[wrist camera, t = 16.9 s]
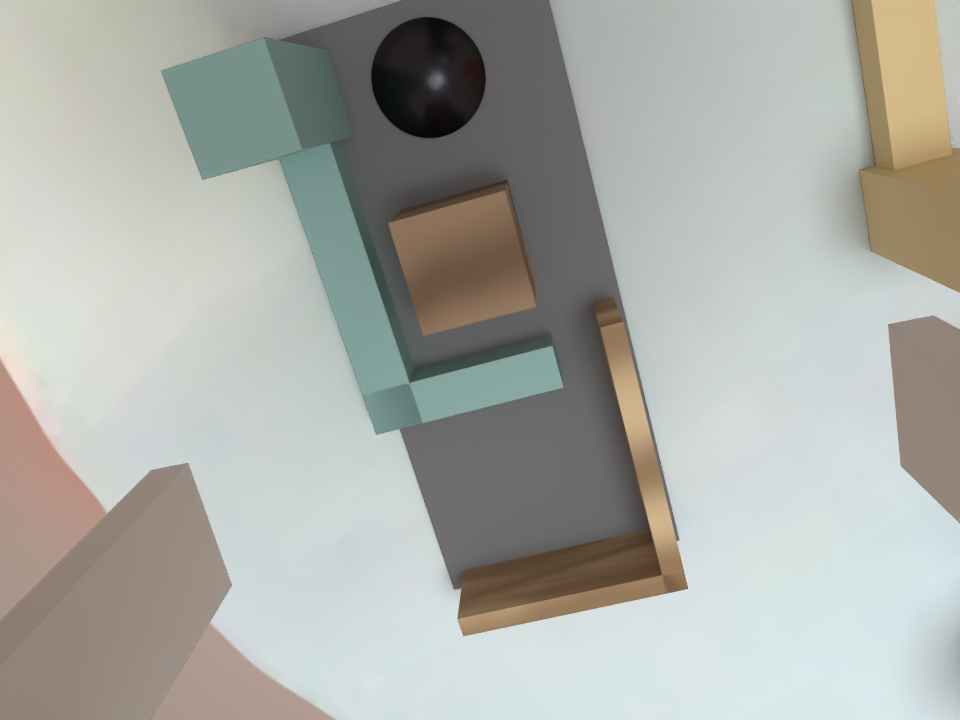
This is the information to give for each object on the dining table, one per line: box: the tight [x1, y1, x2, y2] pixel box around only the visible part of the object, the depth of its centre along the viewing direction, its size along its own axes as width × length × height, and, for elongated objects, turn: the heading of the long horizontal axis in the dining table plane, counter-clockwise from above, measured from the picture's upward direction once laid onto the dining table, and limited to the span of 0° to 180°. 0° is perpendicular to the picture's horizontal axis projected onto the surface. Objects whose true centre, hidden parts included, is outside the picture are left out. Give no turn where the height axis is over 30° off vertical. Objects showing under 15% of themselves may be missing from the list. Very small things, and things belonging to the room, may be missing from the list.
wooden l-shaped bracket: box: [458, 298, 688, 636], centre depth 48 cm, size 16×13×6 cm
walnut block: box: [388, 180, 536, 336], centre depth 44 cm, size 6×6×5 cm
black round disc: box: [371, 17, 486, 138], centre depth 44 cm, size 6×6×1 cm
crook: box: [161, 37, 564, 435], centre depth 41 cm, size 20×12×11 cm, turn 16°
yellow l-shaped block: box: [852, 0, 960, 292], centre depth 38 cm, size 18×4×11 cm, turn 16°
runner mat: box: [279, 0, 679, 590], centre depth 48 cm, size 34×14×1 cm, turn 16°
